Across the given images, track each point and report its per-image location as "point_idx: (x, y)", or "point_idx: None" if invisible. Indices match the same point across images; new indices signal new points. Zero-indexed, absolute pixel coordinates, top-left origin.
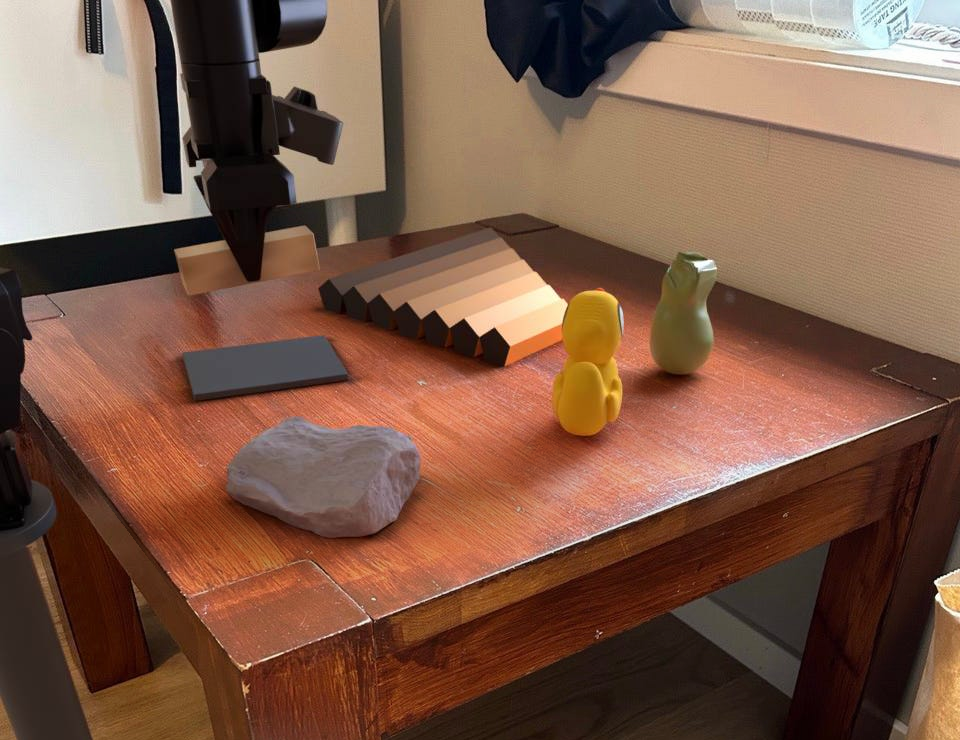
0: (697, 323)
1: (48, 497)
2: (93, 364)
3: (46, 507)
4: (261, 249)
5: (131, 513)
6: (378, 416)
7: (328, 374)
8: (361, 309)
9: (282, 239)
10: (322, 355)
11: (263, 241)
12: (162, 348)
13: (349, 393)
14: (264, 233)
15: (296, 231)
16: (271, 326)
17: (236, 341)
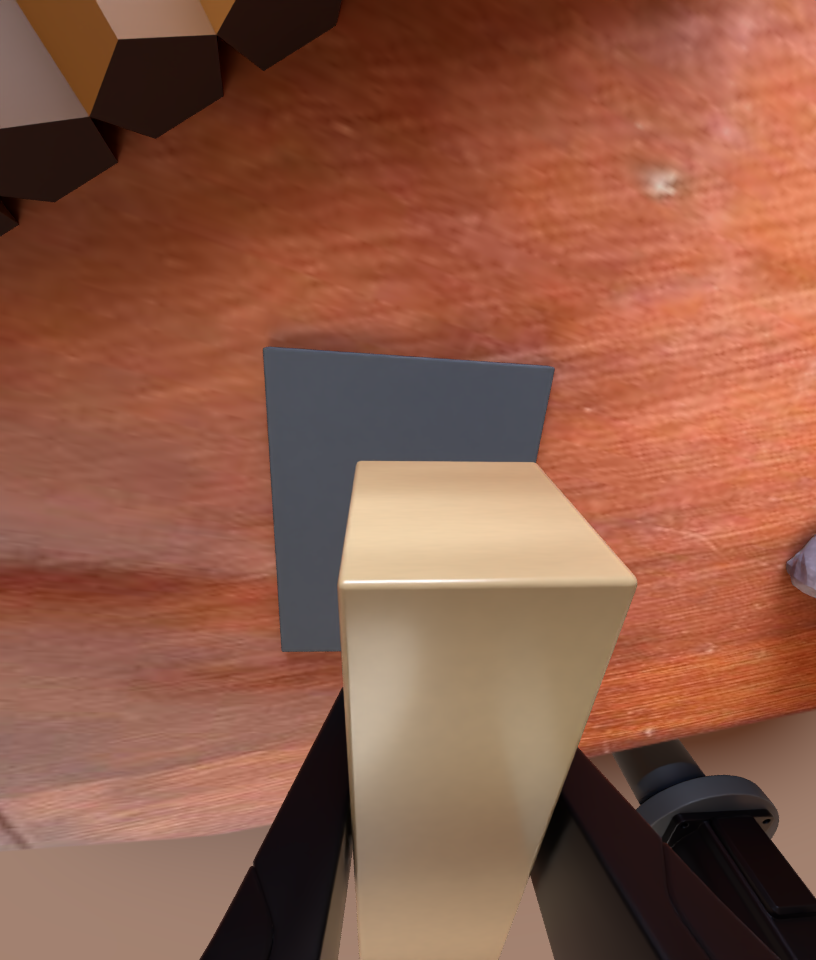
0: None
1: (728, 797)
2: (262, 753)
3: (746, 797)
4: (622, 804)
5: (764, 718)
6: (750, 363)
7: (536, 413)
8: (81, 150)
9: (575, 736)
10: (416, 395)
11: (668, 847)
12: (211, 667)
13: (612, 385)
14: (723, 904)
15: (484, 663)
16: (110, 452)
17: (206, 543)
